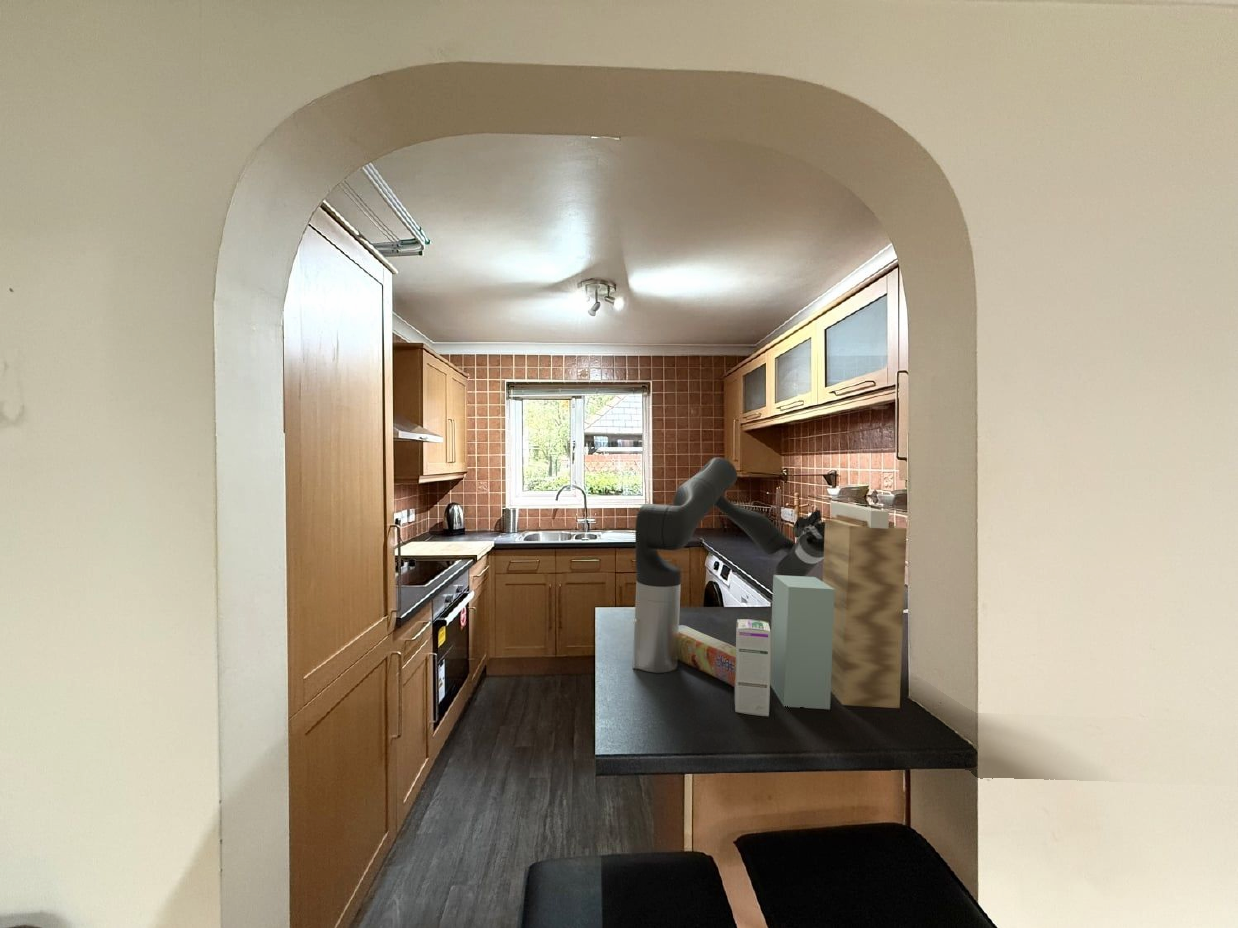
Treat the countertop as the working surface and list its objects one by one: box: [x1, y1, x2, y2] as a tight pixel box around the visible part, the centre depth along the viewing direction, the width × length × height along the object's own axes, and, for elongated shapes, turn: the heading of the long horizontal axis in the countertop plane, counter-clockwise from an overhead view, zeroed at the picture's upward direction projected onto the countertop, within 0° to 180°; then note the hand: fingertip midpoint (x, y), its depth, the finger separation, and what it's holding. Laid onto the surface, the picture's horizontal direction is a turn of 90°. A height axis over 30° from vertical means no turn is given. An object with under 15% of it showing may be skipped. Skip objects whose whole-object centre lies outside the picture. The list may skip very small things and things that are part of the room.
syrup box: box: [734, 618, 771, 717], centre depth 90 cm, size 6×6×14 cm
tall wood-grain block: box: [822, 515, 907, 709], centre depth 98 cm, size 10×12×33 cm
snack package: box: [677, 624, 736, 688], centre depth 105 cm, size 21×7×7 cm, turn 36°
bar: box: [830, 501, 890, 529], centre depth 102 cm, size 3×23×3 cm, turn 174°
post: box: [770, 574, 835, 710], centre depth 95 cm, size 8×10×21 cm
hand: (839, 514), depth 109 cm, fingers open, 8 cm apart
